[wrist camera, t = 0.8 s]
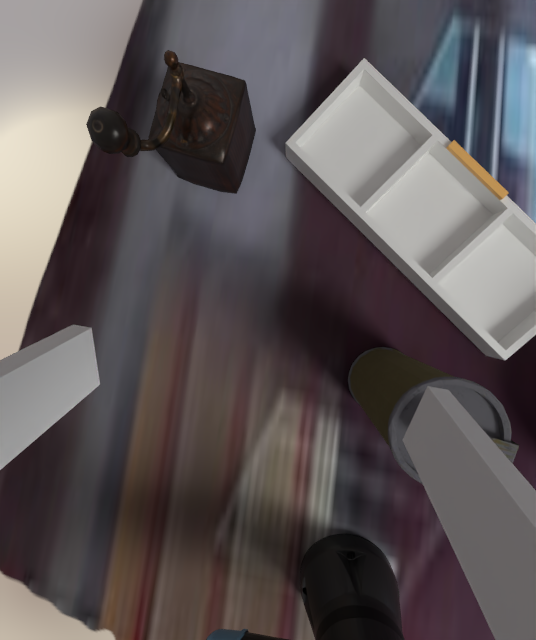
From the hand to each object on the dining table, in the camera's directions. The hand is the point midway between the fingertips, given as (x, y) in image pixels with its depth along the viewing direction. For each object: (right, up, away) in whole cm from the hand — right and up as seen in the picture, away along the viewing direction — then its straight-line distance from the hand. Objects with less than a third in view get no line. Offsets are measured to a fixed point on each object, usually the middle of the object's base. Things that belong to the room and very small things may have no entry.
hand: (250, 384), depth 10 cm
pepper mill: (-8, +27, +31) cm, 42 cm away
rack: (+24, +18, +28) cm, 41 cm away
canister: (+19, -7, +30) cm, 36 cm away
